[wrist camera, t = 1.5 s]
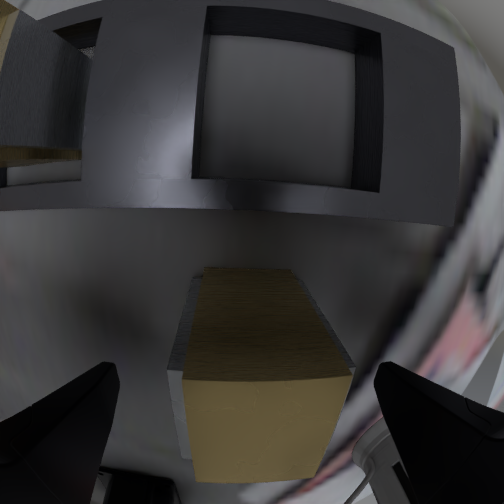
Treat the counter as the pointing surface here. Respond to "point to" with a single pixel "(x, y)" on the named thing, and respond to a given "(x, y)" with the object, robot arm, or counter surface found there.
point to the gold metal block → (255, 377)
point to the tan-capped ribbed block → (39, 92)
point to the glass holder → (382, 467)
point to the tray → (192, 99)
